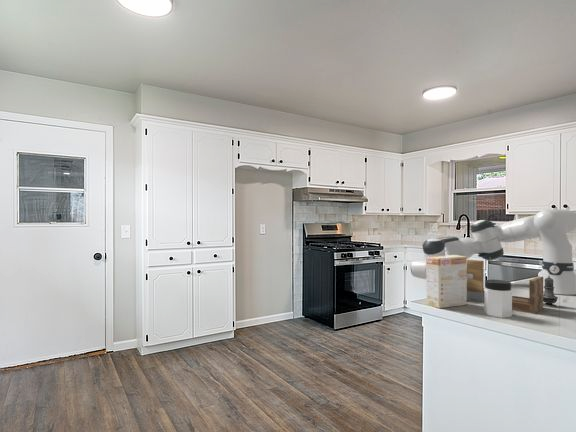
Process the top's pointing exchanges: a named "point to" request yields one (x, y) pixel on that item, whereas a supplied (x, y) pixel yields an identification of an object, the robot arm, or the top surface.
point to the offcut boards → (520, 300)
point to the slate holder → (475, 296)
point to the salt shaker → (549, 293)
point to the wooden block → (475, 276)
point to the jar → (498, 298)
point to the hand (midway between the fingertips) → (476, 275)
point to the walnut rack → (531, 297)
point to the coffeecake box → (446, 281)
